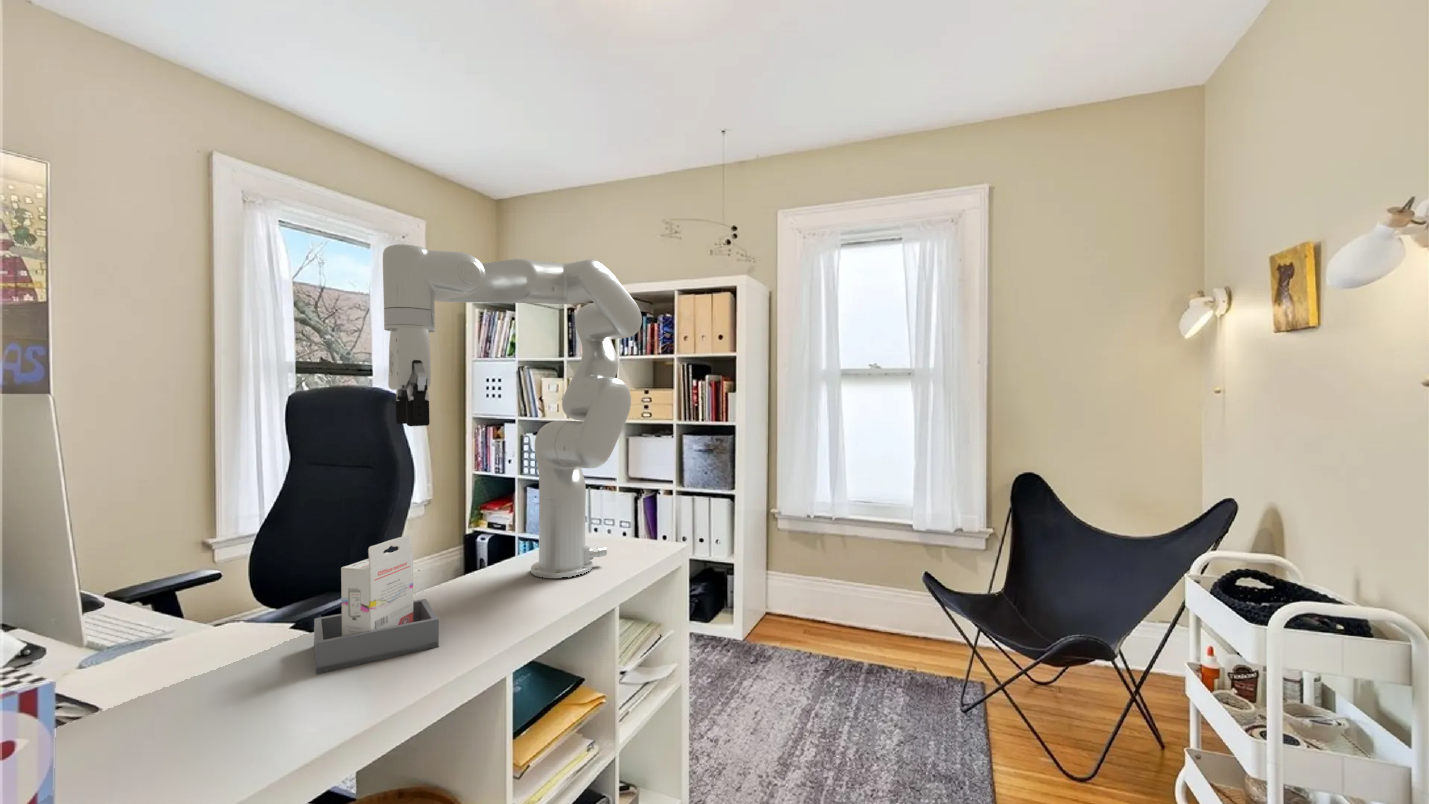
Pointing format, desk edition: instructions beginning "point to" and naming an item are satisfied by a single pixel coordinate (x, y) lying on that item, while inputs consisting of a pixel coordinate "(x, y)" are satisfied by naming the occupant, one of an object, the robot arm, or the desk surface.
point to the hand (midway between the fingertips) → (412, 424)
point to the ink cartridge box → (378, 588)
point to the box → (373, 640)
